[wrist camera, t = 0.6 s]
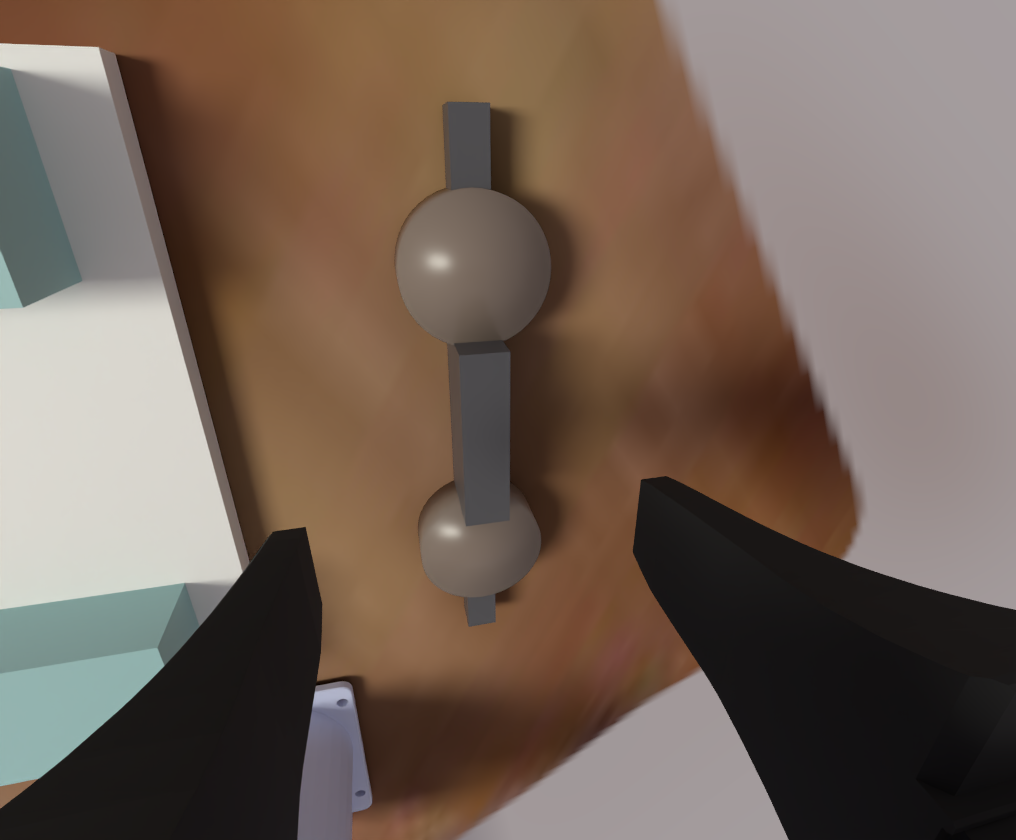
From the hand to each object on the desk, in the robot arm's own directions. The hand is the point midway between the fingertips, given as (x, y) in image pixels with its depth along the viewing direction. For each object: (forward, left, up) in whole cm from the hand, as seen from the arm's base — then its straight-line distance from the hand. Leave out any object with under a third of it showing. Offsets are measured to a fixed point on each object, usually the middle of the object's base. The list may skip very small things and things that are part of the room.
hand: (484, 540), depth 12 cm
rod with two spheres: (-1, -1, -9) cm, 10 cm away
